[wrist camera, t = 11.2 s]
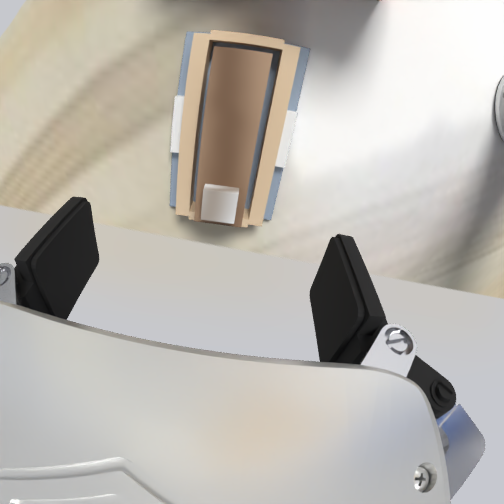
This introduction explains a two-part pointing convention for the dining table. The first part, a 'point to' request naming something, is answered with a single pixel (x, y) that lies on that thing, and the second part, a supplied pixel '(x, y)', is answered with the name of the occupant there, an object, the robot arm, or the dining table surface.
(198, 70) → the cradle
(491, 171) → the dining table surface
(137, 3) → the dining table surface
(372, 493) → the robot arm
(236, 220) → the long brown block
